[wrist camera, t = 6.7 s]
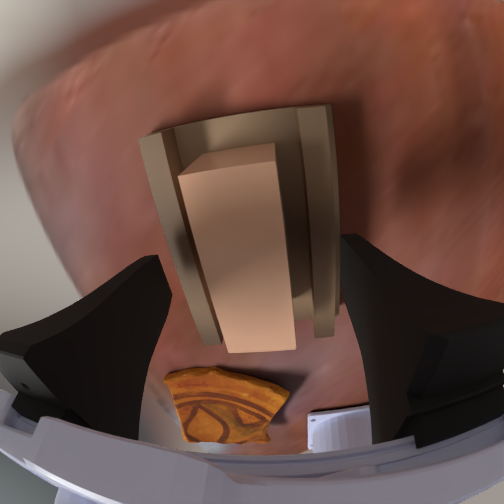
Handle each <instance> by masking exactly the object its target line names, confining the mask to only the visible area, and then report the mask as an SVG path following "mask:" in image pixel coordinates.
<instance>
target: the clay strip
mask: <svg viewBox="0 0 504 504" xmlns="http://www.w3.org/2000/svg"><path fill="white" fill-rule="evenodd" d="M178 179H179V183H180V187H181V191H182V195H183V199H184V203H185V207H186V211H187V215H188V218H189V222H190V226H191V230H192V233H193V237H194V241H195V244H196V248H197V251H198V255H199V258H200V262H201V265H202V269H203V272H204V276H205V279H206V282H207V286H208V289H209V292H210V296H211V299H212V302H213V305H214V309H215V312H216V315H217V318H218V321H219V324H220V328H221V331H222V334H223V337H224V340H225V343H226V346H227V349H228V352H229V353H243V352H263V351H279V350H292V349H296V336H295V319H294V303H293V291H292V281H291V271H290V262H289V252H288V243H287V234H286V226H285V217H284V209H283V201H282V193H281V185H280V178H279V170H278V163H277V156H276V149H275V143H269V144H261V145H253V146H246V147H240V148H233V149H227V150H221V151H215V152H209V153H204V154H202V155H201V156H200V157H199V158H197V159H196V160H195V161H194V162H193V163H192V164H191V165H190V166H188V167H187V168H186V169H185V170H184V171H183V172H182V173H181V174H180V175H178Z"/></svg>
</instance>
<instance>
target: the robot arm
mask: <svg viewBox="0 0 504 504" xmlns="http://www.w3.org/2000/svg"><path fill="white" fill-rule="evenodd" d="M340 281H341V286H342V291H343V296H344V301H345V304H346V307H347V310H348V313H349V316H350V319H351V322H352V325H353V328H354V331H355V334H356V337H357V340H358V344H359V347H360V351H361V355H362V359H363V365H364V371H365V377H366V384H367V391H368V398H369V405H365V406H359V407H353V408H346V409H338V410H330V411H321V412H312V413H309V414H308V449H313V453H309V454H294V455H263V456H255V455H224V454H210V453H198V452H189V451H181V450H177V449H172V448H168V447H163V446H159V445H155V444H152V443H147V442H142V441H138V435H139V434H138V433H139V419H140V410H141V403H142V397H143V391H144V385H145V381H146V376H147V372H148V367H149V364H150V361H151V357H152V355H153V352H154V349H155V347H156V344H157V342H158V339H159V336H160V334H161V331H162V329H163V326H164V323H165V321H166V318H167V315H168V312H169V308H170V303H171V299H172V292H171V289H170V287H169V284H168V281H167V279H166V276H165V273H164V271H163V268H162V265H161V262H160V260H159V257H158V255H149V256H144V257H142V258H140V259H138V260H137V261H135V262H134V263H132V264H131V265H129V266H128V267H126V268H125V269H124V270H122V271H121V272H119V273H118V274H117V275H115V276H114V277H113V278H111V279H110V280H108V281H107V282H106V283H104V284H103V285H101V286H100V287H98V288H97V289H96V290H94V291H93V292H91V293H90V294H88V295H87V296H85V297H84V298H82V299H80V300H79V301H77V302H75V303H74V304H72V305H70V306H69V307H67V308H65V309H63V310H61V311H59V312H57V313H55V314H53V315H51V316H49V317H46V318H44V319H42V320H40V321H37V322H34V323H32V324H29V325H26V326H24V327H21V328H17V329H14V330H10V331H7V332H4V333H3V334H1V335H0V372H1V373H2V375H3V376H4V377H5V378H6V379H7V380H8V381H9V382H10V384H11V385H12V386H13V387H14V388H15V389H16V390H17V391H18V394H17V396H16V397H14V396H13V395H12V394H10V393H9V392H6V391H4V390H2V389H0V451H1V452H2V453H4V454H5V455H6V456H8V457H9V458H11V459H12V460H14V461H15V462H17V463H18V464H19V465H21V466H22V467H24V468H26V469H27V470H29V471H30V472H32V473H34V474H35V475H37V476H39V477H40V478H42V479H44V480H46V481H47V482H49V483H51V484H53V485H54V486H56V487H58V488H59V490H58V493H57V496H56V499H55V503H54V504H458V503H460V502H462V501H464V500H466V499H469V498H471V497H473V496H475V495H477V494H479V493H481V492H483V491H485V490H487V489H489V488H490V487H492V486H494V485H496V484H498V483H499V482H501V481H503V480H504V387H503V385H504V373H503V369H504V303H500V302H496V301H491V300H486V299H482V298H478V297H475V296H471V295H468V294H465V293H461V292H459V291H456V290H453V289H450V288H448V287H445V286H443V285H440V284H438V283H436V282H433V281H431V280H429V279H427V278H425V277H423V276H421V275H419V274H417V273H415V272H413V271H412V270H410V269H408V268H406V267H405V266H403V265H402V264H400V263H398V262H397V261H395V260H394V259H392V258H391V257H389V256H388V255H386V254H385V253H383V252H382V251H380V250H379V249H378V248H376V247H375V246H373V245H372V244H371V243H369V242H368V241H366V240H365V239H364V238H362V237H361V236H359V235H358V234H356V233H355V234H345V235H340Z"/></svg>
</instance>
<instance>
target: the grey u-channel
mask: <svg viewBox="0 0 504 504" xmlns="http://www.w3.org/2000/svg"><path fill="white" fill-rule="evenodd" d="M138 141H139V146H140V150H141V154H142V158H143V161H144V165H145V169H146V173H147V177H148V180H149V184H150V188H151V191H152V195H153V198H154V202H155V205H156V208H157V212H158V215H159V219H160V222H161V225H162V228H163V232H164V235H165V238H166V241H167V244H168V247H169V250H170V253H171V256H172V259H173V262H174V265H175V268H176V271H177V274H178V277H179V280H180V283H181V285H182V288H183V291H184V294H185V296H186V299H187V302H188V305H189V307H190V310H191V313H192V315H193V318H194V320H195V323H196V326H197V328H198V331H199V333H200V336H201V338H202V341H203V343H204V345H222V340H223V334H222V331H221V328H220V324H219V321H218V318H217V315H216V312H215V309H214V305H213V302H212V299H211V296H210V292H209V289H208V286H207V282H206V279H205V276H204V272H203V269H202V265H201V262H200V258H199V255H198V251H197V248H196V244H195V241H194V237H193V233H192V230H191V226H190V222H189V218H188V215H187V211H186V207H185V203H184V199H183V195H182V191H181V187H180V183H179V179H178V175H180V174H181V173H182V172H183V171H184V170H185V169H186V168H187V167H188V166H190V165H191V164H192V163H193V162H194V161H195V160H196V159H197V158H199V157H200V156H201V155H202V154H204V153H209V152H215V151H221V150H227V149H233V148H240V147H246V146H253V145H261V144H269V143H275V149H276V156H277V163H278V170H279V178H280V185H281V193H282V201H283V209H284V217H285V226H286V234H287V243H288V252H289V262H290V271H291V281H292V291H293V303H294V319H295V321H296V320H306V319H313V324H314V332H315V338H323V337H332V336H334V325H335V316H339V304H340V212H339V189H338V173H337V159H336V146H335V136H334V126H333V116H332V108H331V104H318V105H305V106H294V107H284V108H276V109H267V110H260V111H253V112H246V113H240V114H234V115H228V116H223V117H217V118H212V119H207V120H202V121H198V122H193V123H189V124H184V125H180V126H176V127H172V128H168V129H164V130H160V131H156V132H152V133H149V134H146V135H144V136H143V137H141V138H139V139H138Z"/></svg>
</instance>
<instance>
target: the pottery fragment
mask: <svg viewBox="0 0 504 504" xmlns="http://www.w3.org/2000/svg"><path fill="white" fill-rule="evenodd" d="M163 381H164V382H165V384H166V385H168V387H169V388H170V390H171V394H172V397H173V401H174V405H175V408H176V410H177V414H178V417H179V419H180V423H181V427H182V435H183V439H184V440H186V441H187V442H189V443H196V442H217V443H223V444H228V443H229V444H230V443H236V444H246V443H250V442H256V443H267V442H269V441H270V437H269V436H268V434H267V429H268V427H269V424H270V422H271V420H272V418H273V417H274V415H275V414H276V413H277V412H278V410H279V409H280V408H281V406H282V405H283V404H284V403H285V402H286V400H287V399H288V397H289V395H290V392H289V391H287V390H285V389H283V388H281V387H280V386H278V385H276V384H273V383H270V382H267V381H263V380H261V379H258V378H255V377H252V376H249V375H244V374H239V373H235V372H230V371H226V370H223V369H220V368H218V367H208V368H190V369H184V370H182V371H178V372H174V373H169V374H167V375H166V376H165V377H164V380H163Z"/></svg>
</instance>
